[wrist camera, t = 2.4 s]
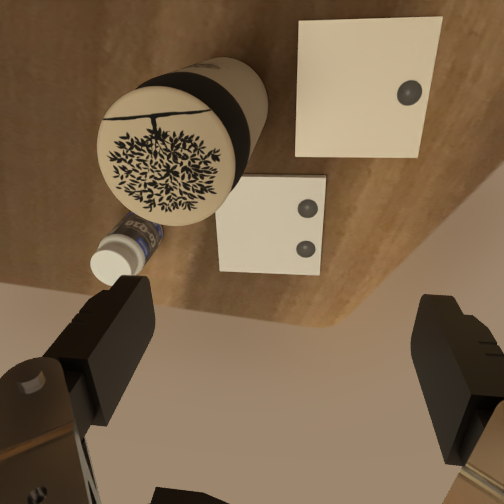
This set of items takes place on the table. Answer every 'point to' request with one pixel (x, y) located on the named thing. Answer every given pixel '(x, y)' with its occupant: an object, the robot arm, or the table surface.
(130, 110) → the travel mug
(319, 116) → the one-dot pad
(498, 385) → the robot arm
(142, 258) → the pill bottle
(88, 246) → the table surface
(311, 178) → the two-dot pad
